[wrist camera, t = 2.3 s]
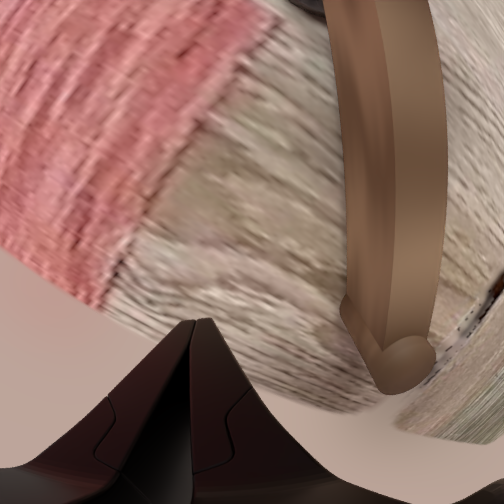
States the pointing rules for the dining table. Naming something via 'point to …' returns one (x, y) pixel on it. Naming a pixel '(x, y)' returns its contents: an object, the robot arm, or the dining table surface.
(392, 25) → the gate
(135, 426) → the robot arm
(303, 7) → the hinge base
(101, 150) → the dining table surface
